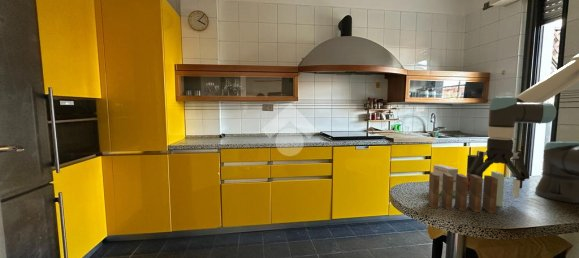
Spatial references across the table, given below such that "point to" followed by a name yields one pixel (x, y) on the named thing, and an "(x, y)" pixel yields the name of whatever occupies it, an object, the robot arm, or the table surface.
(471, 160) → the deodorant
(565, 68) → the robot arm
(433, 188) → the domino
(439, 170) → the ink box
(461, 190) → the domino
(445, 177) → the domino
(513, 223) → the table surface
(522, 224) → the table surface
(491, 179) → the domino
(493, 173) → the domino
